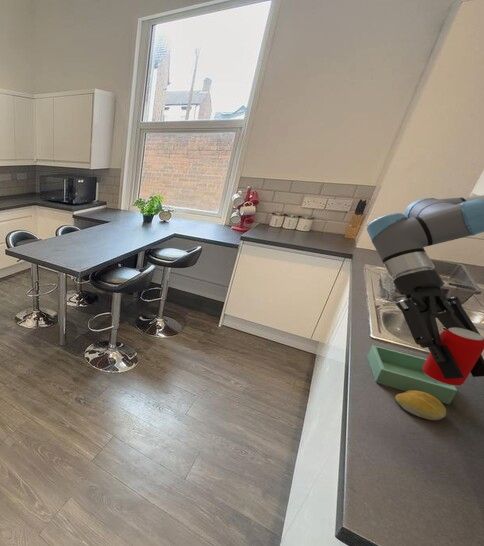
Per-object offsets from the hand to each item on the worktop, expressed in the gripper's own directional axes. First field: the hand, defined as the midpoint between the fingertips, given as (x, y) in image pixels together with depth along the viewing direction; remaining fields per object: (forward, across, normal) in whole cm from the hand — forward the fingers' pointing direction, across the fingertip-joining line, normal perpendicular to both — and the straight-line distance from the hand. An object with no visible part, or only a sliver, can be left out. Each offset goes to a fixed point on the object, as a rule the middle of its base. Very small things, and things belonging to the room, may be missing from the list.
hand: (468, 377), depth 64 cm
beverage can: (0, 0, -5) cm, 5 cm away
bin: (-1, -18, -27) cm, 32 cm away
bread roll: (+7, -8, -19) cm, 22 cm away
